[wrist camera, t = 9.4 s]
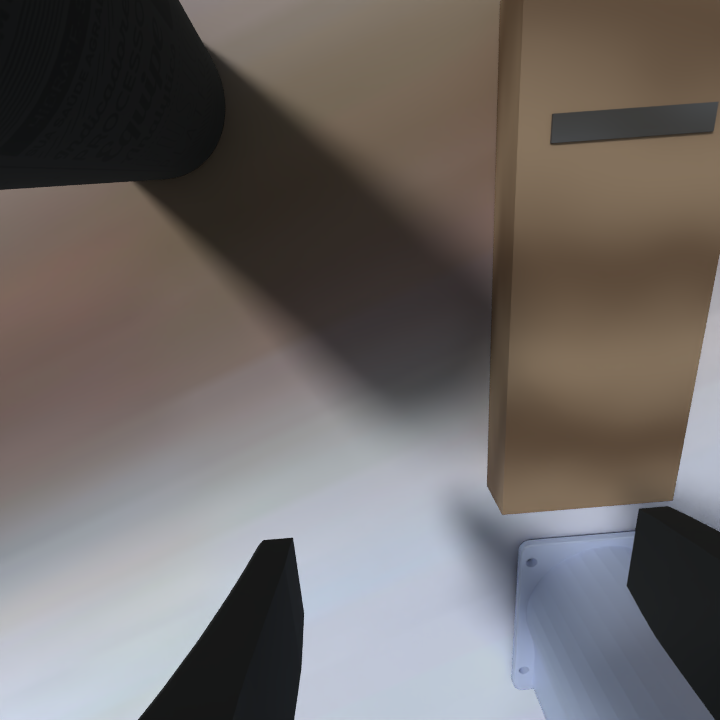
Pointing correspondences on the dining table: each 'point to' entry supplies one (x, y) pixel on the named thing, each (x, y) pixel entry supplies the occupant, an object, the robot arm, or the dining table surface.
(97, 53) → the drinking cup
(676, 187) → the body
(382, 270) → the dining table surface
